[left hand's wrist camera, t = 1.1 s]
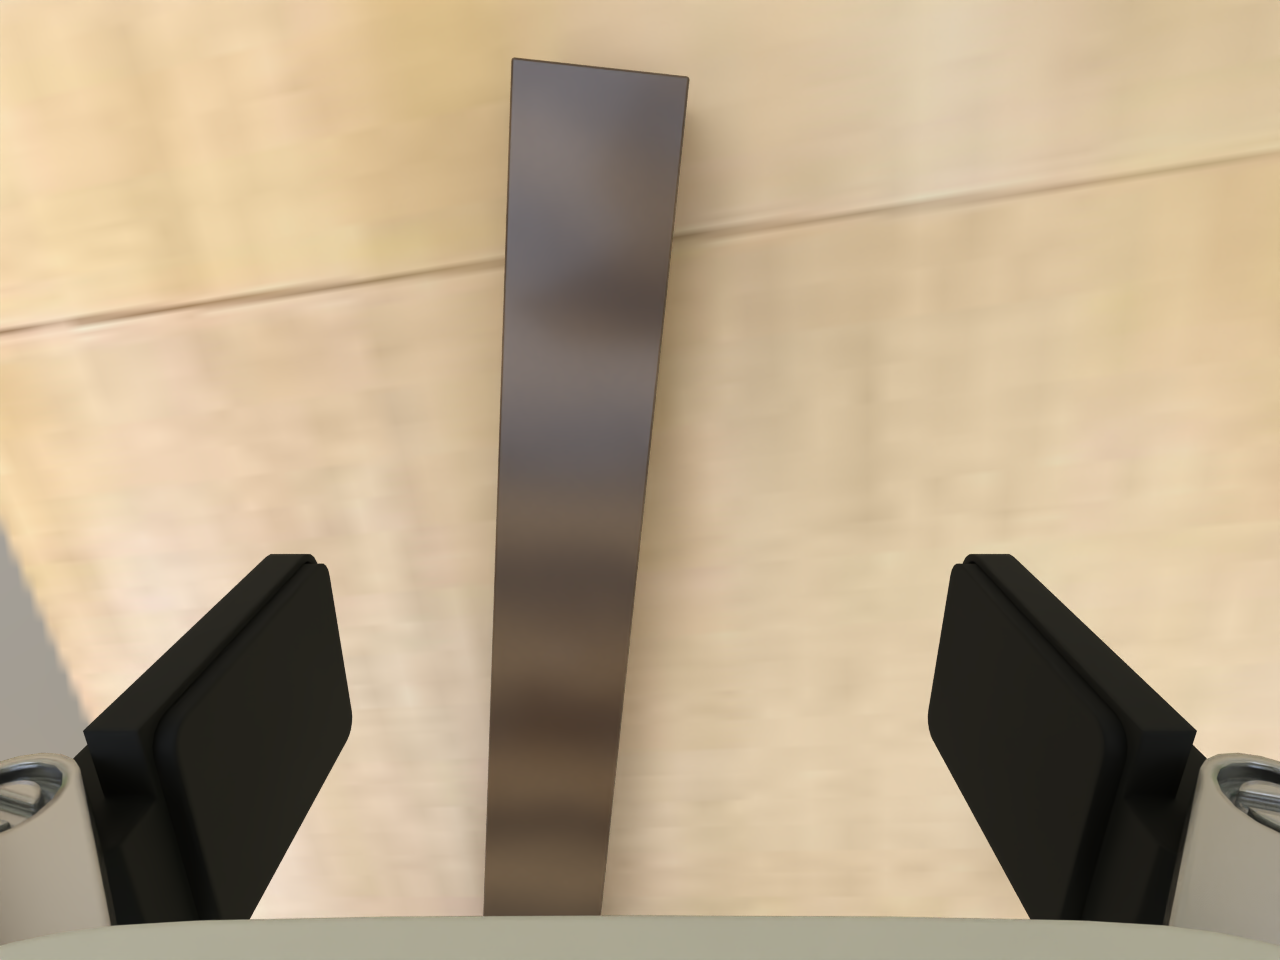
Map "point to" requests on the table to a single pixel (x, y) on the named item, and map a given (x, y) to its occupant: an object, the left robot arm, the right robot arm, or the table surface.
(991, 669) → the left robot arm
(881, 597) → the table surface
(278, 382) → the table surface
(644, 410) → the bar
